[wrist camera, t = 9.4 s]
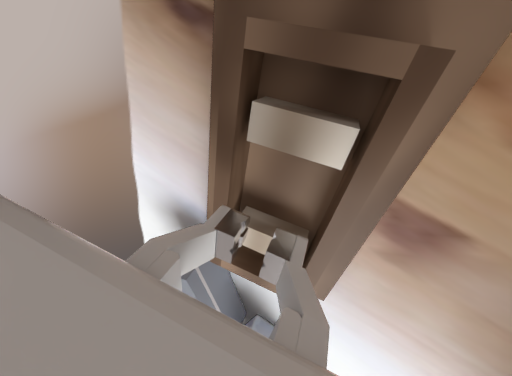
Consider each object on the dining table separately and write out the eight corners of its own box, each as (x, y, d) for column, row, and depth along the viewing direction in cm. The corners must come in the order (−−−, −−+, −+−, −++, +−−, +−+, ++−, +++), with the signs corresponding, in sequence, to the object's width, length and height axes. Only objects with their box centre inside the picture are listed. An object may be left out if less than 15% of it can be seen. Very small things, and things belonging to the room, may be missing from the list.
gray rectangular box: (216, 239, 21) (186, 279, 17) (247, 311, 26) (229, 355, 22) (187, 237, 23) (154, 272, 19) (221, 304, 28) (200, 344, 24)
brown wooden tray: (518, 1, 7) (621, -40, 5) (324, 290, 19) (320, 330, 16) (226, -31, 10) (178, -68, 7) (211, 239, 21) (190, 265, 18)
